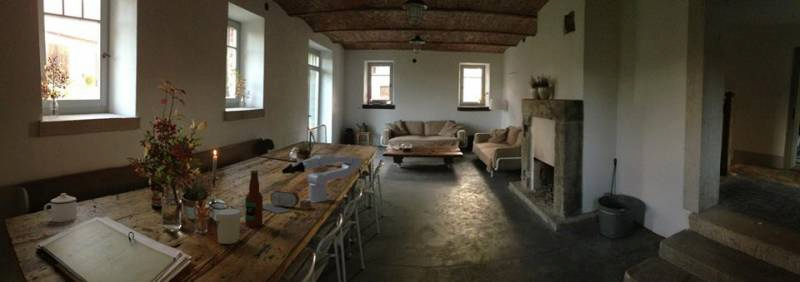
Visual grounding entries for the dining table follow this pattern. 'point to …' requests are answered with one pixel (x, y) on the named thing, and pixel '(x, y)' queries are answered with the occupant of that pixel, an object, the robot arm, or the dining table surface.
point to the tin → (284, 198)
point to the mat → (275, 208)
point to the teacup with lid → (62, 208)
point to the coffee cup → (228, 225)
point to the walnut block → (305, 204)
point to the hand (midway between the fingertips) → (286, 171)
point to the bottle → (253, 202)
